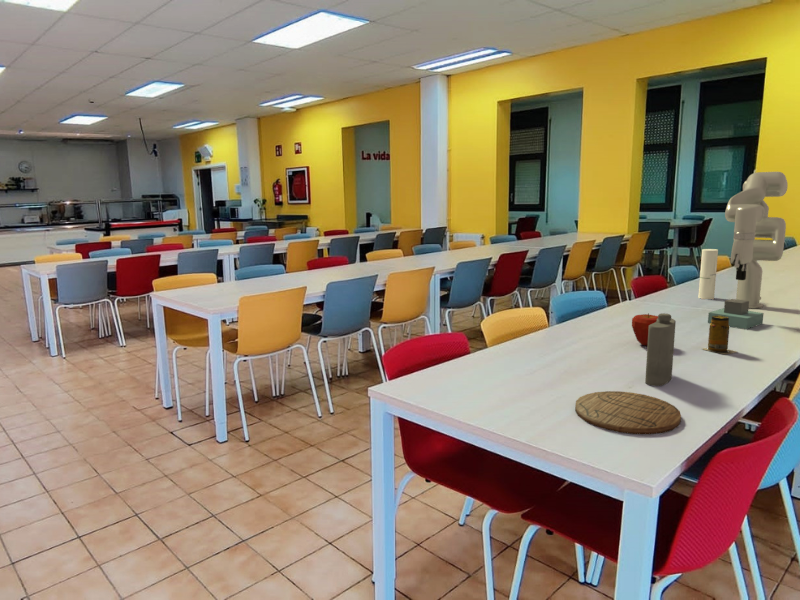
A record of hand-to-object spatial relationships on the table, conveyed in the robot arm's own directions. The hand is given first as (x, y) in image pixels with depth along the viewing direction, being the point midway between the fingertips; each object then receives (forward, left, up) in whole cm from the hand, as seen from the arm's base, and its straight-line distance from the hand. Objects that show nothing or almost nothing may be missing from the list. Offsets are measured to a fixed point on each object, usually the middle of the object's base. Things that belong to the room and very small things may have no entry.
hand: (740, 279), depth 238 cm
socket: (+7, +2, -17) cm, 19 cm away
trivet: (+129, +29, -18) cm, 133 cm away
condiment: (+53, +17, -18) cm, 59 cm away
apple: (+65, -3, -18) cm, 68 cm away
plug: (+7, +2, -17) cm, 19 cm away
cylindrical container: (-39, -32, -18) cm, 53 cm away
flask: (+97, +20, -18) cm, 101 cm away
